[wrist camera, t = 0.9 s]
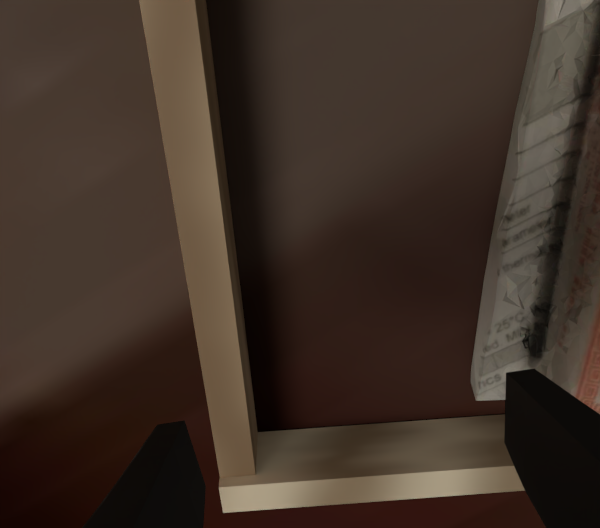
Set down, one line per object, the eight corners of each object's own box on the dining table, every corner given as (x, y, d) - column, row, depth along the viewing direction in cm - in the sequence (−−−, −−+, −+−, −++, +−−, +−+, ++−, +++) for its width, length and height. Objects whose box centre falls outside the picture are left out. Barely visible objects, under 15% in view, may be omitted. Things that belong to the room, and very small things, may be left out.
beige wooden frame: (1028, -235, 14) (1203, -296, 12) (755, 419, 25) (815, 468, 22) (129, -184, 14) (94, -234, 11) (229, 458, 24) (223, 512, 22)
